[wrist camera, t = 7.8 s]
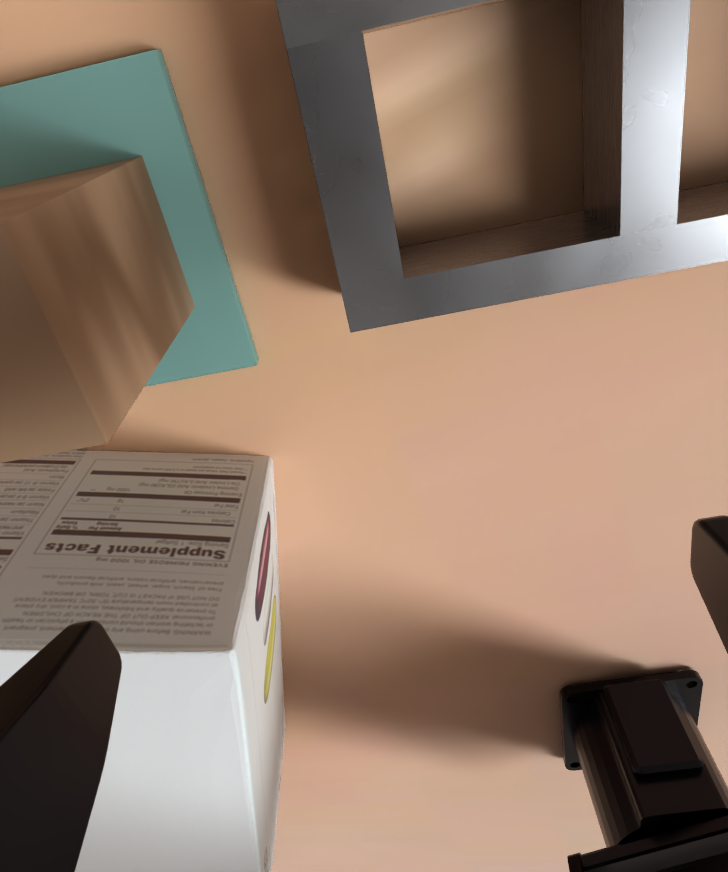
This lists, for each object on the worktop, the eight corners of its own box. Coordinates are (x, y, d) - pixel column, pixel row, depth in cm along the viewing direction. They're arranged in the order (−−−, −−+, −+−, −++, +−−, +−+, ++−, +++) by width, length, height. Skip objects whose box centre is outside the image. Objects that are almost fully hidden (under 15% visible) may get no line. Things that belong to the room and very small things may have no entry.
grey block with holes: (885, 190, 18) (971, 213, 16) (351, 296, 20) (350, 332, 17) (968, -175, 14) (1102, -225, 12) (285, -6, 16) (271, -17, 13)
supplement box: (291, 726, 32) (269, 951, 24) (31, 723, 32) (-80, 949, 24) (280, 449, 23) (239, 658, 15) (-82, 440, 23) (-319, 649, 15)
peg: (195, 306, 19) (107, 443, 13) (62, 332, 20) (-92, 479, 13) (142, 155, 17) (0, 224, 10) (-6, 188, 18) (-237, 274, 11)
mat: (258, 359, 21) (256, 365, 20) (63, 396, 22) (57, 402, 21) (161, 49, 16) (155, 49, 16) (-84, 108, 17) (-95, 110, 17)
